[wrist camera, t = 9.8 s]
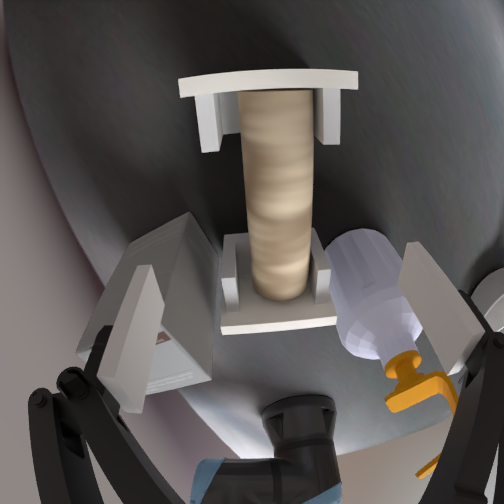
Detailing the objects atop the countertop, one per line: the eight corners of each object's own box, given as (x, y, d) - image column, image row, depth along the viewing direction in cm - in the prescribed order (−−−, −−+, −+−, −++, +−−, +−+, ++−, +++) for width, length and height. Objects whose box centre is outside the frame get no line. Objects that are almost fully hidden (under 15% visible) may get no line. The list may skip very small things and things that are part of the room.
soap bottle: (304, 252, 32) (365, 492, 12) (377, 212, 30) (506, 426, 10) (334, 300, 37) (389, 493, 17) (398, 267, 34) (487, 448, 14)
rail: (277, 258, 28) (319, 279, 25) (240, 283, 25) (283, 309, 22) (272, 86, 19) (327, 89, 16) (221, 92, 16) (279, 93, 14)
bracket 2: (310, 247, 32) (335, 324, 23) (225, 254, 32) (222, 335, 23) (311, 209, 29) (343, 281, 20) (220, 216, 29) (213, 293, 20)
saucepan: (530, 211, 30) (552, 231, 25) (499, 304, 41) (513, 324, 37) (485, 223, 31) (508, 246, 26) (456, 321, 42) (469, 345, 38)
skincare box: (160, 282, 34) (131, 404, 21) (124, 235, 30) (67, 356, 17) (224, 255, 32) (219, 389, 19) (190, 201, 28) (155, 329, 15)
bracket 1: (203, 75, 22) (178, 79, 13) (310, 68, 22) (357, 71, 13) (208, 124, 24) (189, 161, 15) (312, 117, 24) (356, 151, 15)
